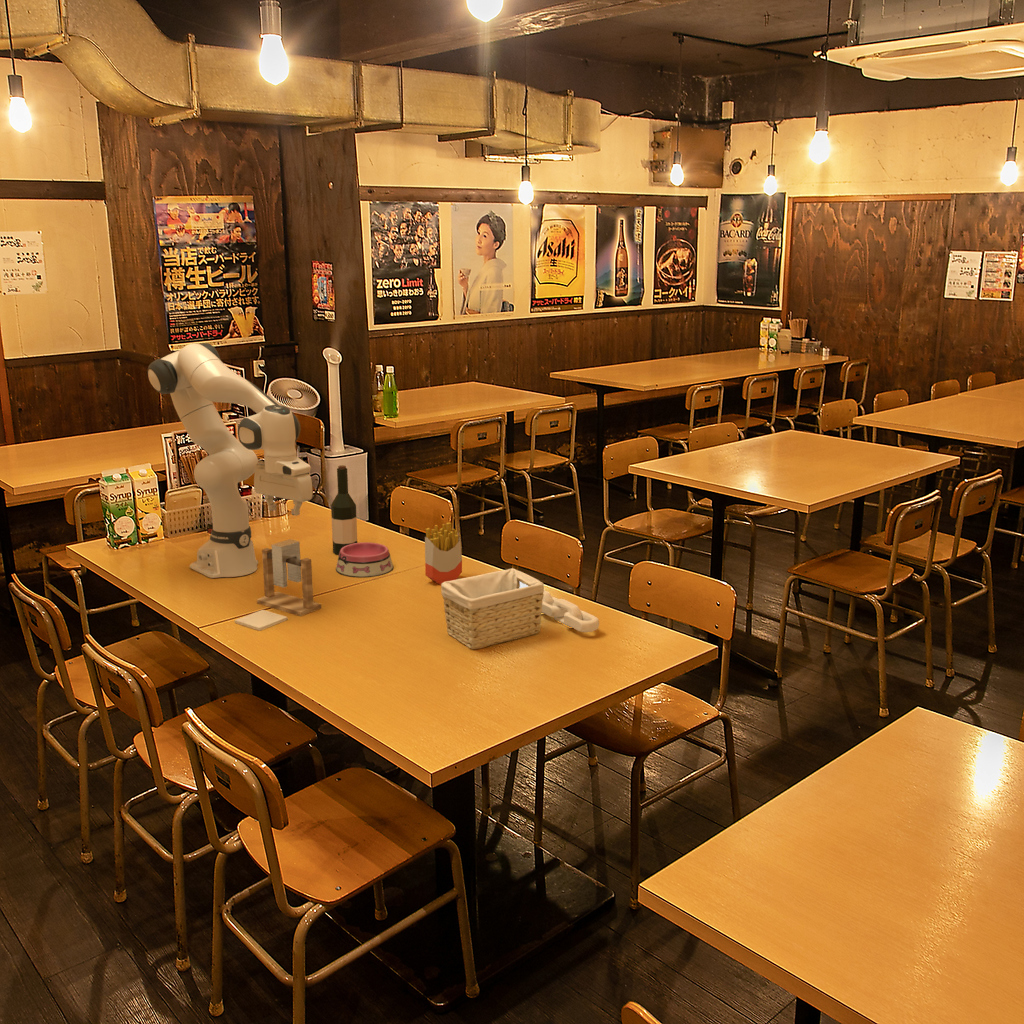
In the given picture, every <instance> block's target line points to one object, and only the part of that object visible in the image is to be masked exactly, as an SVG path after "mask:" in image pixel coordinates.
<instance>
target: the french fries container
mask: <svg viewBox="0 0 1024 1024" xmlns="http://www.w3.org/2000/svg"><path fill="white" fill-rule="evenodd" d="M441 526H442V527H441V528H439V526H438V525H437V524H435V525H434V528H432V529H431V528H430V527H427V528H425V536H424V555H425V556H424V558H425V559H424V561H425V564H424V565H425V567H424V569H425V571H424V572H425V576H426V577H427V578H428V579H429V580H431V581H433V582H434V583H436V584H438V585H440V584H442V583H443V582H446V581H452V580H457V579H459V577H460V575H461V574H462V573H463V556H462V543H461V537H460V534H459V532H458V529H457V530H456V529H455V528H452V523H451V521H450V522H446V523H442V524H441Z"/></svg>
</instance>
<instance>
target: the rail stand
mask: <svg viewBox="0 0 1024 1024" xmlns="http://www.w3.org/2000/svg"><path fill="white" fill-rule="evenodd" d="M261 557H262V558H261V559H262V572H263V574H262V575H263V588H264V596H262V597H259V598H257V599H256V604H259V605H261V606H266V607H269V608H272V609H276V610H279V611H282V612H285V613H288V614H292V615H296V616H298V617H302V616H305V615H308V614H310V613H313V612H315V611H318V610H321V609H322V603H318V602H316V601H315V602H314V591H313V590H314V586H313V569H312V567H313V566H312V559H311V558H308V557H306V558H302V559H301V558H300V559H296V558H289V559H286V564H287V563H290V564H293V565H297V566H301V584H302V585H301V587H302V598H300V597H298V596H294V595H291V594H290V595H289V594H286V593H284V592H280V591H276V592H275V585H274V578H273V561H272V548H268V547H266V548H262V549H261Z"/></svg>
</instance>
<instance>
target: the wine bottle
mask: <svg viewBox="0 0 1024 1024" xmlns="http://www.w3.org/2000/svg"><path fill="white" fill-rule="evenodd" d="M337 467H338V468H336V473H337V474H336V475H337V476H336V477H337V478H336V479H337V494H336V495H335V498H334V499H333V501H332V502H331V505H330V510H331V511H330V512H331V514H330V515H331V533H332V534H331V535H332V536H331V537H332V552H333V554H334V555H335V556H339V553H340V550H341V548H343V547H344V546H346V545H349V544H354V543H358V525H357V521H358V520H357V504H356V503H355V501H354V500H353V498H352V497H351V495H350V493H349V482H348V481H349V479H348V468H347V466H346V465H338V466H337Z"/></svg>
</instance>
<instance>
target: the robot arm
mask: <svg viewBox="0 0 1024 1024" xmlns="http://www.w3.org/2000/svg"><path fill="white" fill-rule="evenodd" d="M147 367H148V368H147V376H148V380H149V382H150V385H152V387H153V389H154V390H155V391H156V392H157V393H159V394H162V395H167V394H168V395H170V397H171V401H172V404H173V407H174V409H175V411H176V414H177V416H178V418H179V420H180V422H181V424H182V425H183V428H184V429H185V431H186V433H187V435H188V436H189V438H190V441H191V442H192V443H193V444H194V445H196V446H199V447H201V448H202V449H203V450H204V451H205V452H206V453H207V454H208V455H207V456H205V457H203V458H202V459H201V460H200V461H199V462H197V464H195V467H194V468H193V478H194V481H195V483H196V484H197V485H198V487H200V488H201V489H202V490H204V492H205V494H206V496H207V498H208V501H209V504H210V505H209V506H210V510H211V519H212V528H209V529H208V532H207V534H210V536H209V539H208V540H207V541H206V542H205V543H204V544H203V545H201V546H200V547H199V548H198V549H197V553H196V561H194V562H191V563H190V564H189V569H192V570H193V571H195V572H197V573H200V574H201V575H204V576H205V577H208V578H209V579H214V578H233V577H241V576H246V575H249V574H253V573H254V572H256V571H257V570H258V564H259V561H258V559H256V553H255V548H254V541H253V540H252V539H251V538H252V527H251V526H250V522H249V521H250V518H249V505H248V502H247V501H246V499H244V498H242V496H241V493H240V491H239V488H238V487H239V486H238V485H239V483H240V482H244V481H246V480H247V479H249V478H250V477H251V476H252V475H253V490H254V492H255V493H256V494H261V495H264V500H265V502H266V504H267V509H268V511H273V512H274V511H276V510H277V503H275V502H274V499H273V498H274V497H276V498H280V499H283V500H290V501H292V504H293V505H294V506H293V508H291V509H290V511H291V515H292V516H295V517H296V516H300V512H301V511H300V510H301V507H302V504H303V503H304V502H308V501H311V499H312V498H313V493H314V492H313V481H312V477H311V475H310V474H309V473H311V469H312V467H311V465H310V464H309V463H307V462H305V461H304V460H303V459H301V458H300V457H298V456H297V455H298V454H297V450H296V444H295V443H296V442H297V440H298V439H299V437H300V434H301V422H300V421H299V419H298V417H297V416H296V414H294V412H293V411H292V410H291V409H290V408H289V407H287V406H285V405H279V403H277V402H276V401H275V400H274V399H272V398H271V397H270V396H269V395H268V394H267V393H265V392H264V391H263V390H262V389H261V388H260V387H259V386H257V385H256V384H254V383H253V382H251V381H250V380H248V379H246V378H244V377H242V376H241V375H238V374H237V373H236V372H234V371H233V370H232V369H231V368H229V367H228V365H226V364H225V363H224V362H223V361H222V359H221V357H220V354H219V352H218V350H217V349H216V347H215V346H214V345H212V344H211V343H207V342H204V343H203V342H202V343H201V342H200V343H194V342H193V343H189V344H186V345H185V346H183V347H182V348H181V349H179V350H178V349H177V350H176V351H174V352H172V353H170V354H167V355H165V356H164V357H161V358H157V359H154V360H153V361H152V362H150V364H149V365H148V366H147ZM215 403H223V404H224V403H225V404H226V403H227V404H236V405H241V406H245V407H247V408H250V409H251V410H252V411H253V412H255V413H256V414H253V415H249V416H246V417H244V418H242V419H241V420H240V421H239V424H238V428H237V436H238V438H236V436H235V435H233V433H232V432H231V431H230V430H229V428H228V426H227V425H226V424H225V423H224V421H223V418H222V417H221V415H220V414H219V412H218V409H217V408H216V406H215ZM238 439H239V440H238ZM258 450H263V451H264V452H263V457H264V458H263V459H264V461H263V460H258V459H259V458H258V456H257V453H255V452H254V451H258Z"/></svg>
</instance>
